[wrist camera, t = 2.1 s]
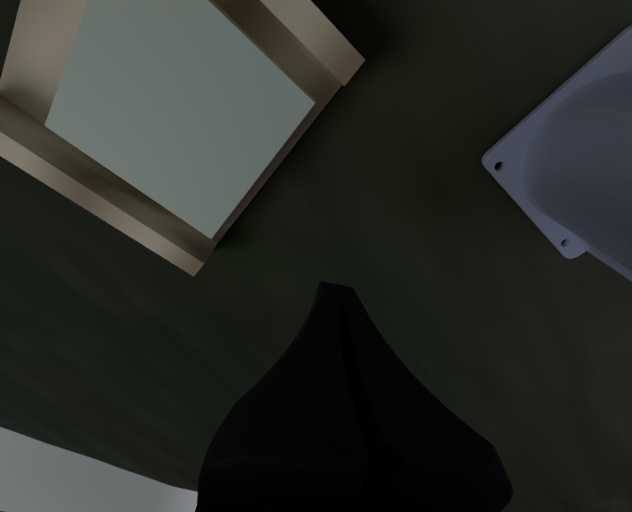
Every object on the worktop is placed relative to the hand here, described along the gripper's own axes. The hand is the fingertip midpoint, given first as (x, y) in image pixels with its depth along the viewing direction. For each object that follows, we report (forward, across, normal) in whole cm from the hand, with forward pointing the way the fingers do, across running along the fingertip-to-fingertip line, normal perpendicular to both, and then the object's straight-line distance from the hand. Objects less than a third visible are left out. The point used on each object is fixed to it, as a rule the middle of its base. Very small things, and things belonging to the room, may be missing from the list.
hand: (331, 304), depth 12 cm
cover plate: (+8, +8, -4) cm, 12 cm away
